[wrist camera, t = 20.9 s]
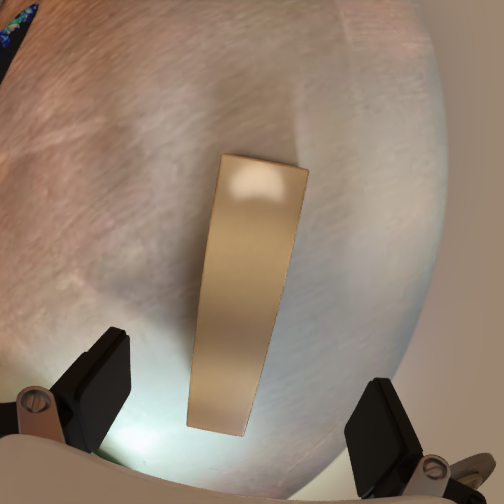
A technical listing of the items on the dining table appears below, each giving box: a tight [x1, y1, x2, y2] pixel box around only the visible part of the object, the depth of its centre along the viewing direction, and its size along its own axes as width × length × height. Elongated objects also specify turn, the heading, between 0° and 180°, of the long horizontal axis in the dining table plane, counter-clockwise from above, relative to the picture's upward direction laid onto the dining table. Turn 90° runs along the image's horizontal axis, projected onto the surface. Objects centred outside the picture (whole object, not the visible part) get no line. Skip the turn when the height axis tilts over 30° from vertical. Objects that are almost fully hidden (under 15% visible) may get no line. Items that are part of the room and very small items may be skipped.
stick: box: [186, 153, 309, 437], centre depth 13 cm, size 13×3×3 cm, turn 169°
